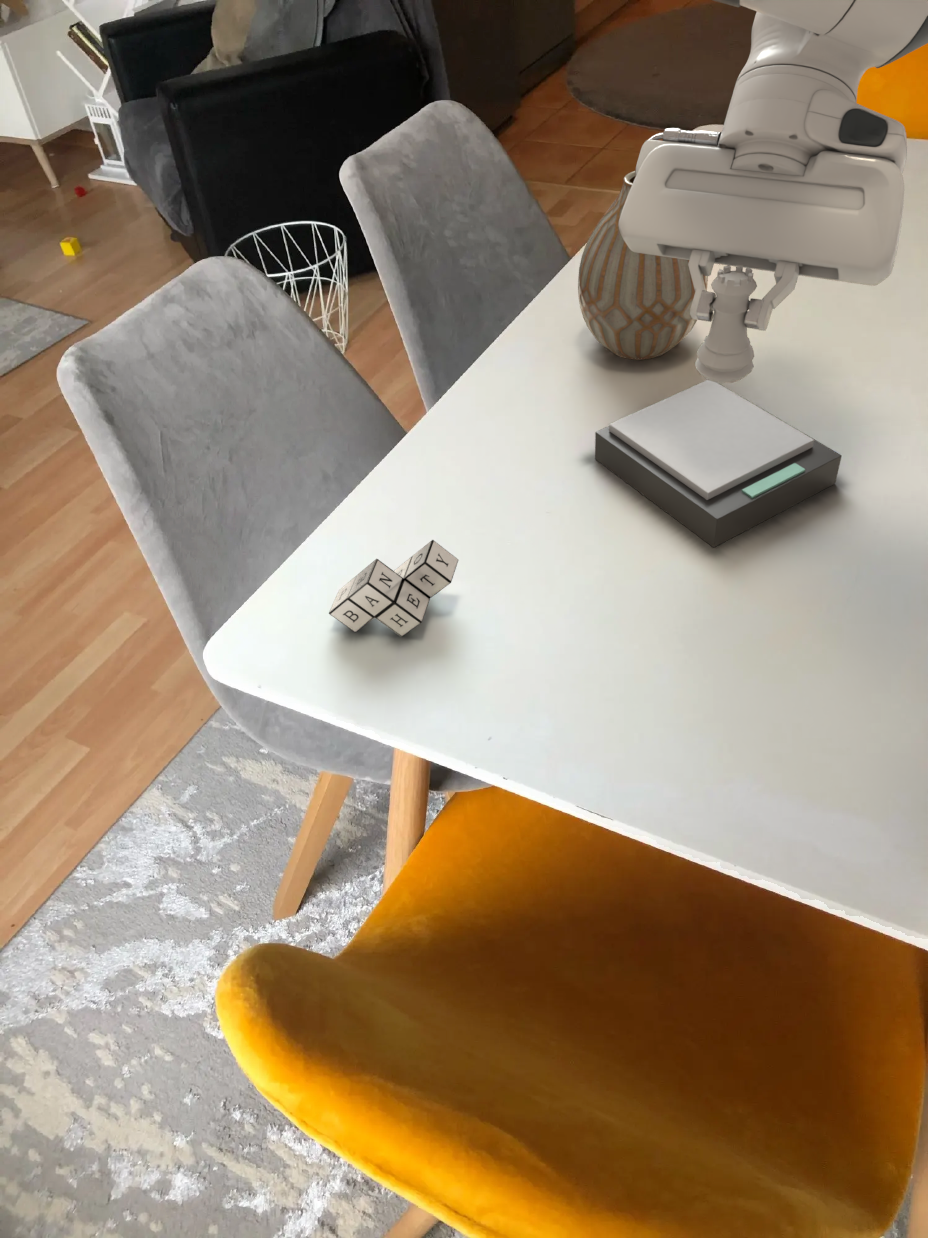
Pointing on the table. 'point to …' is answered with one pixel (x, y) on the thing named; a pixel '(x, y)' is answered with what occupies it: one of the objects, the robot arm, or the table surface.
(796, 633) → the table surface
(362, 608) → the building blocks
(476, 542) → the table surface
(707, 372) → the rook chess piece
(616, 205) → the vase
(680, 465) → the kitchen scale
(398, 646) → the table surface
